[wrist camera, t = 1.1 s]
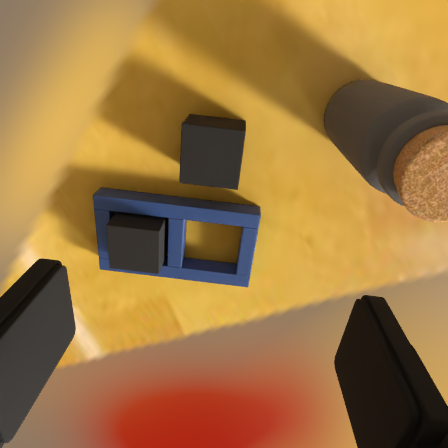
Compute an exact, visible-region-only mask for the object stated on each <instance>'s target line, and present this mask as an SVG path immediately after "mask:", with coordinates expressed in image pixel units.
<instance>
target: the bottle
mask: <svg viewBox="0 0 448 448" xmlns="http://www.w3.org/2000/svg"><path fill="white" fill-rule="evenodd" d="M324 126H325V130H326V133H327V135H328V137H329V138H330V140H331V141H332V142H333V143H334V145H335V146H336V147H337V148H338V149H339V150H340V152H341V153H342V154H343V155H344V156H345V158H346V159H347V160H348V161H349V162H350V163H351V164H352V165H353V167H354V168H355V169H356V170H357V171H358V172H359V173H360V174H361V176H362V177H363V178H364V179H365V180H366V181H367V182H368V183H369V184H370V185H371V186H372V187H374V188H375V189H377V190H379V191H381V192H383V193H386V194H387V195H389V196H390V197H391V198H392V199H393V200H394V201H395V202H397V203H399V204H400V205H403V206H405V207H406V209H407V210H408V211H409V212H410V213H412V214H413V215H415V216H416V217H418V218H420V219H423V220H427V221H432V222H448V103H446V102H445V101H442V100H439V99H437V98H434V97H431V96H428V95H424V94H421V93H417V92H414V91H410V90H407V89H404V88H400V87H397V86H393V85H390V84H386V83H382V82H378V81H374V80H357V81H354V82H351V83H349V84H347V85H345V86H343V87H342V88H341V89H339V90H338V91H337V92H336V93H335V94H334V95H333V97H332V98H331V99H330V101H329V103H328V105H327V108H326V110H325V115H324Z"/></svg>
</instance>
